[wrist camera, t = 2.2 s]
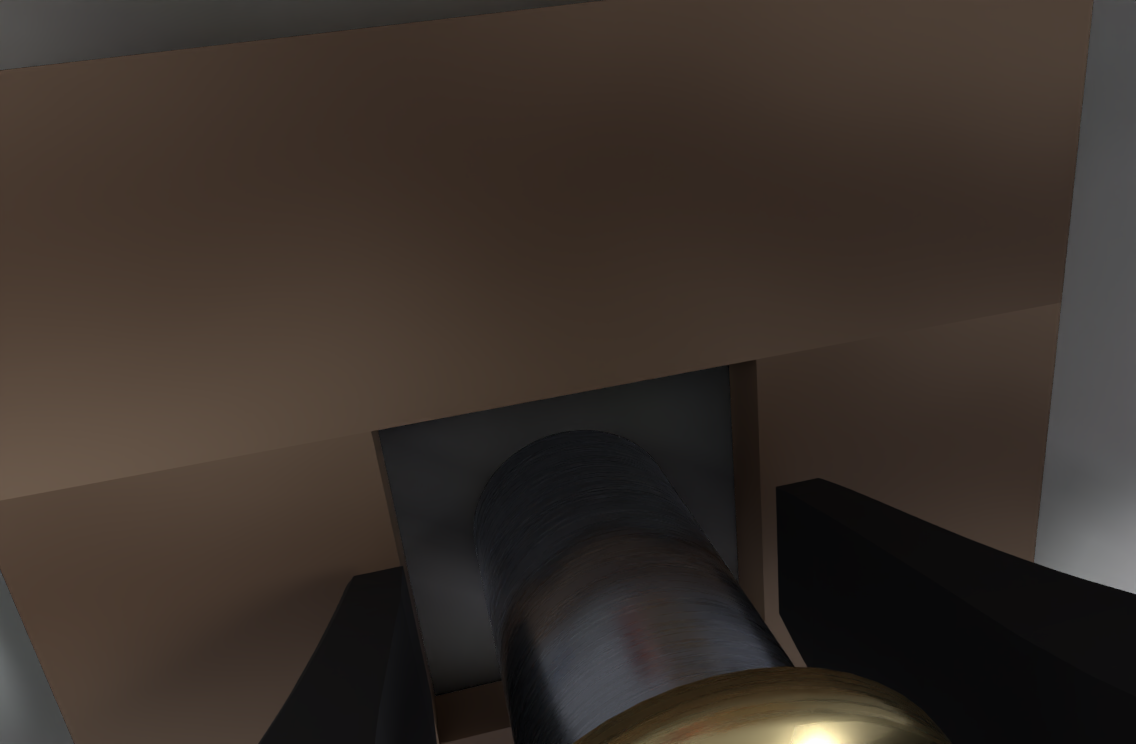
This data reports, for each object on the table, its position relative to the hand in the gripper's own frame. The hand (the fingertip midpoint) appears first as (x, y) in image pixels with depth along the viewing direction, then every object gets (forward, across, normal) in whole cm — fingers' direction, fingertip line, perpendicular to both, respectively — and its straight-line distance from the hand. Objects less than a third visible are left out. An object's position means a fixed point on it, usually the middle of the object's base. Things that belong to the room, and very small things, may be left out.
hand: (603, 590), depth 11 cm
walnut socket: (+2, 0, 0) cm, 2 cm away
